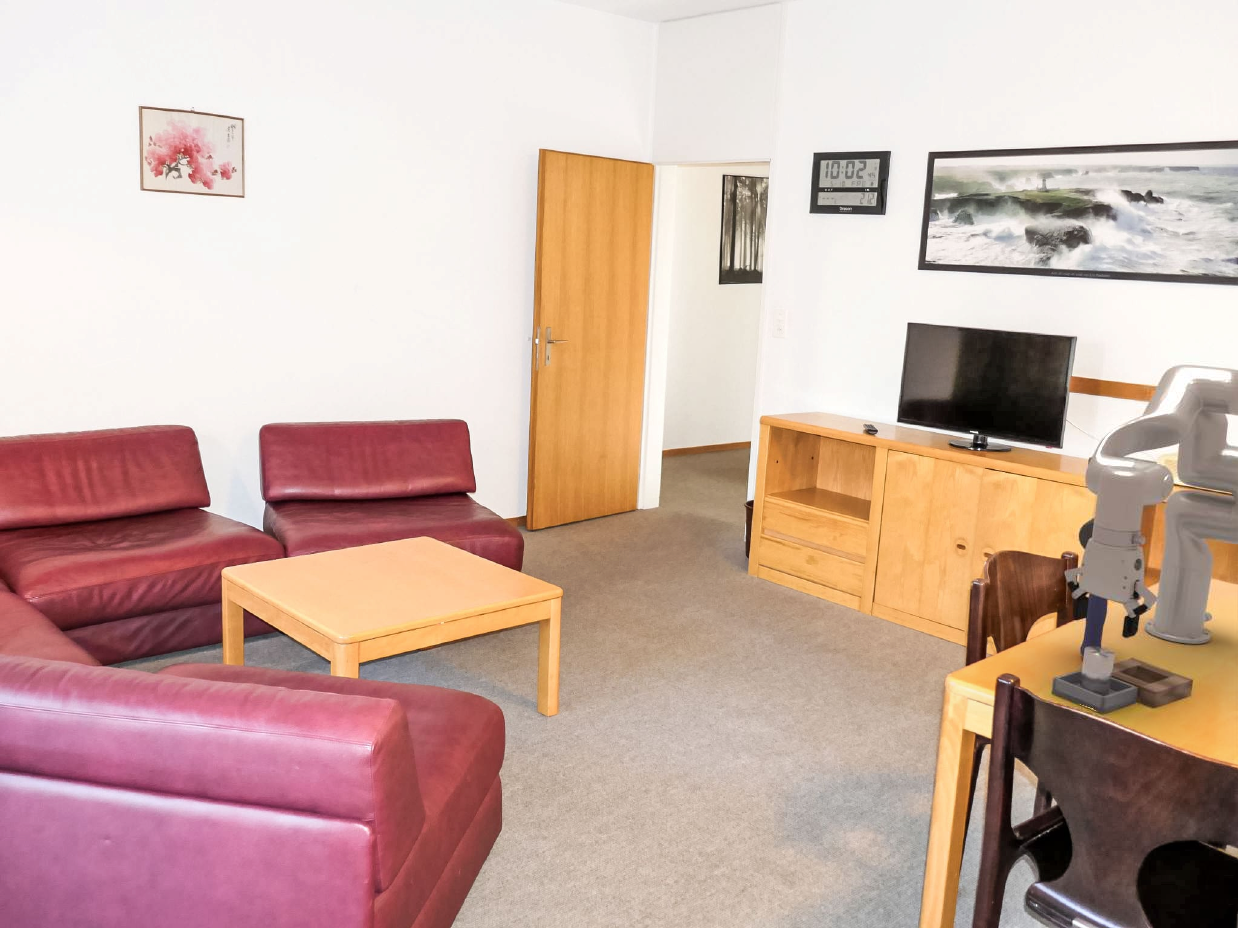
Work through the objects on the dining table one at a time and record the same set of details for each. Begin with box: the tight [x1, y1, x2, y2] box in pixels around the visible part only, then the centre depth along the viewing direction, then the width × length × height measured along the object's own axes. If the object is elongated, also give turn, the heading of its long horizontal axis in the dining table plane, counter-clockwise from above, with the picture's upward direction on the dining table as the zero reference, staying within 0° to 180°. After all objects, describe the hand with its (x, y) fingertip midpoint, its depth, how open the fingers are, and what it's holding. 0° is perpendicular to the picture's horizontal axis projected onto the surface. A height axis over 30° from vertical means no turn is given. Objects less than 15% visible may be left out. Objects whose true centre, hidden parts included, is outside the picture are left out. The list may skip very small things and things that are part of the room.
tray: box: [1051, 669, 1138, 715], centre depth 194 cm, size 10×10×3 cm
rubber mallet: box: [1078, 517, 1109, 659], centre depth 210 cm, size 12×8×30 cm, turn 137°
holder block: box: [1112, 657, 1194, 709], centre depth 198 cm, size 12×12×3 cm
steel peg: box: [1080, 646, 1116, 696], centre depth 193 cm, size 5×5×8 cm
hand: (1103, 627), depth 192 cm, fingers open, 9 cm apart
